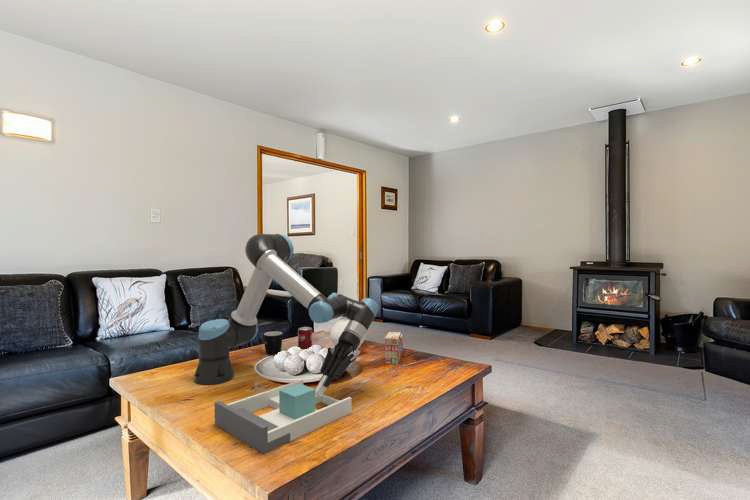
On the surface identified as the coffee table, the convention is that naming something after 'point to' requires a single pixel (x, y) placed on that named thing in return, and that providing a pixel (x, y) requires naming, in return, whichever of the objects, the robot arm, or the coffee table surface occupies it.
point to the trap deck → (274, 419)
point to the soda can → (304, 337)
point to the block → (297, 401)
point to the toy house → (393, 347)
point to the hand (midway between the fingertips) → (317, 394)
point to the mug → (273, 342)
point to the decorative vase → (338, 330)
